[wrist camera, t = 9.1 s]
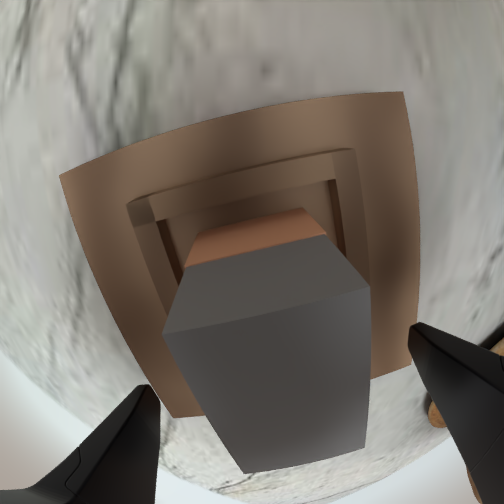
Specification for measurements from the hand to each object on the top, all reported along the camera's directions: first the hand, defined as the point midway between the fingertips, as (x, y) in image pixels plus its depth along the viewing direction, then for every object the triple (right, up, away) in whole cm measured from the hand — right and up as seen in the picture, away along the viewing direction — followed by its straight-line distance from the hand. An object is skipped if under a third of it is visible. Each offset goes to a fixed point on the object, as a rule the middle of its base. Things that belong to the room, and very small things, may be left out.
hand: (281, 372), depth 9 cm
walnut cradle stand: (0, +3, +7) cm, 8 cm away
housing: (0, +2, +5) cm, 5 cm away
